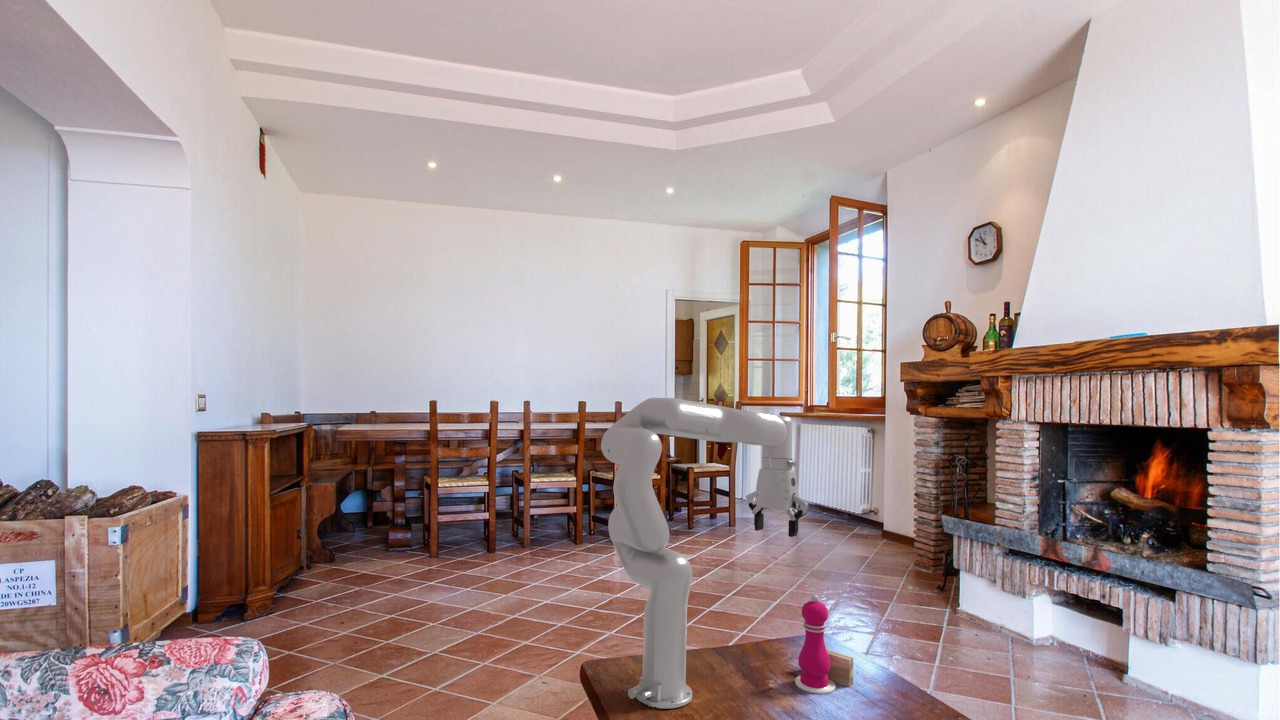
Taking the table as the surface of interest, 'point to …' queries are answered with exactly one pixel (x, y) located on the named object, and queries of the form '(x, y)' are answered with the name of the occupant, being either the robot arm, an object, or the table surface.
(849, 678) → the oak rail
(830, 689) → the coaster
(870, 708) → the table surface
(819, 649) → the pepper mill
